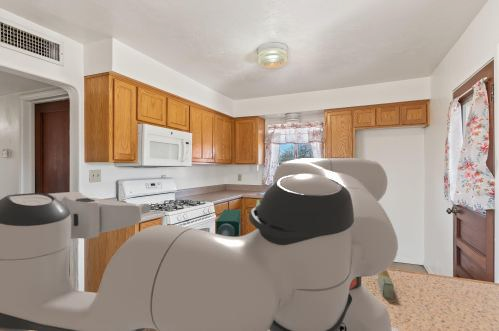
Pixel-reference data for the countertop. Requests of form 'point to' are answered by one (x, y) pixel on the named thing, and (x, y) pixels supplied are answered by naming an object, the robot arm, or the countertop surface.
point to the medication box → (385, 284)
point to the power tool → (229, 223)
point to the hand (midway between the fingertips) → (136, 206)
